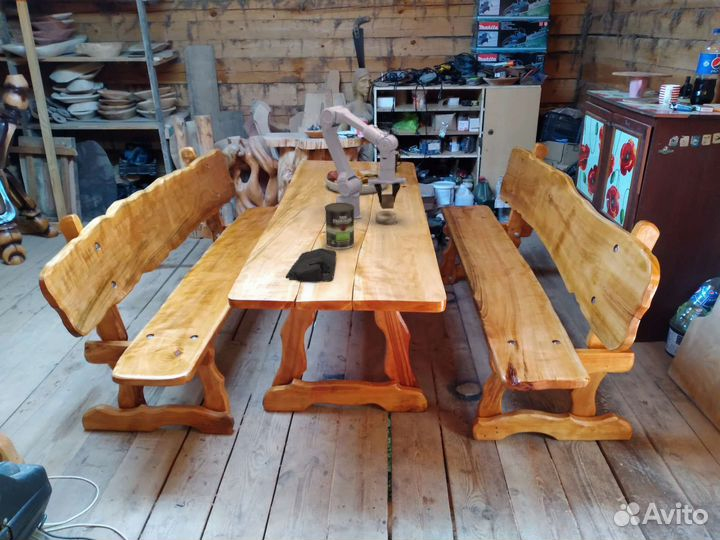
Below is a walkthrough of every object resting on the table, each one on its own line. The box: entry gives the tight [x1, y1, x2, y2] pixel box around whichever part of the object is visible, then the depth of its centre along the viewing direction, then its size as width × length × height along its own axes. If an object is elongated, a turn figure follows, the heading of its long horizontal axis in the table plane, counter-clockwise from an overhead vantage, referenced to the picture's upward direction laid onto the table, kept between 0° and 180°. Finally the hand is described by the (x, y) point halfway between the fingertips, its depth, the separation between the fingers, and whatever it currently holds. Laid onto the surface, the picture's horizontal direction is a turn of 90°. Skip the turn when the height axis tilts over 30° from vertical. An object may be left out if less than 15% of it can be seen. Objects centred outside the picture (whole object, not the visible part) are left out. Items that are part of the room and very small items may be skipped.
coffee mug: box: [395, 150, 403, 173], centre depth 290 cm, size 12×9×10 cm
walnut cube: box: [379, 193, 395, 210], centre depth 216 cm, size 4×4×4 cm
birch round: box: [375, 210, 398, 226], centre depth 220 cm, size 8×8×4 cm
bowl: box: [325, 169, 388, 195], centre depth 265 cm, size 30×30×8 cm
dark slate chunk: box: [285, 247, 337, 283], centre depth 179 cm, size 15×22×5 cm
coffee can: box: [324, 202, 355, 250], centre depth 196 cm, size 10×10×14 cm
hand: (386, 202), depth 216 cm, fingers closed on walnut cube, 4 cm apart
